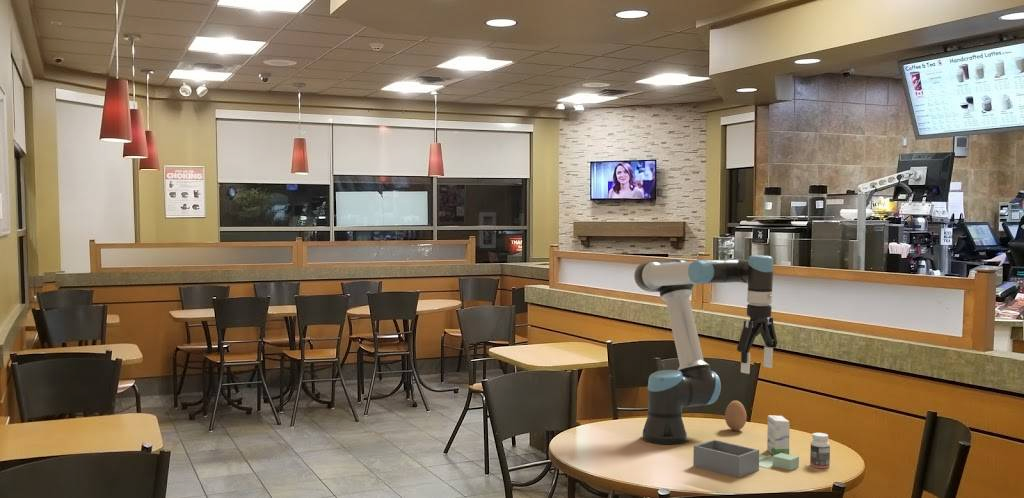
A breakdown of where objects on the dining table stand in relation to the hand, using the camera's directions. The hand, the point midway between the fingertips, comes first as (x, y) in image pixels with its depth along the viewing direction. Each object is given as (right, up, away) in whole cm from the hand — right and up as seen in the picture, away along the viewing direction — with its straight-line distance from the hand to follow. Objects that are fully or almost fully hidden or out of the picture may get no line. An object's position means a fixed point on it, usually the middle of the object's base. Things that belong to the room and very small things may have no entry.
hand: (756, 370), depth 271 cm
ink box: (+9, -29, +7) cm, 31 cm away
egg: (+3, -27, +37) cm, 46 cm away
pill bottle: (+18, -29, -7) cm, 35 cm away
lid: (0, -29, -4) cm, 29 cm away
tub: (-13, -29, -12) cm, 34 cm away
